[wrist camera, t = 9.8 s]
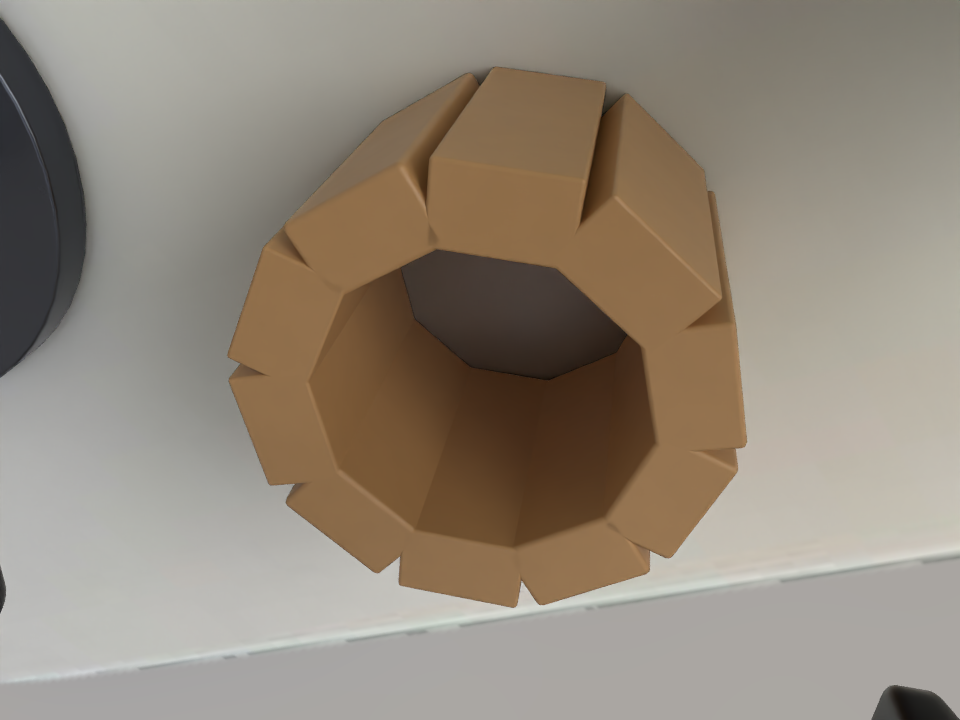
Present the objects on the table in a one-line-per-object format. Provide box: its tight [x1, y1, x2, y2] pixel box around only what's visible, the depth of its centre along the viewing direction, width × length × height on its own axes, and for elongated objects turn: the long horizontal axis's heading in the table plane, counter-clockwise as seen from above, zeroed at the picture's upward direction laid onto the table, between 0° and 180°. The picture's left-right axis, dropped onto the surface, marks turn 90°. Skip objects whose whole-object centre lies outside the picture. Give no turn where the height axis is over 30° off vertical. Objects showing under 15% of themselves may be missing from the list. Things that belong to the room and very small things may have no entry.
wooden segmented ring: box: [227, 67, 747, 608], centre depth 15 cm, size 7×7×5 cm
